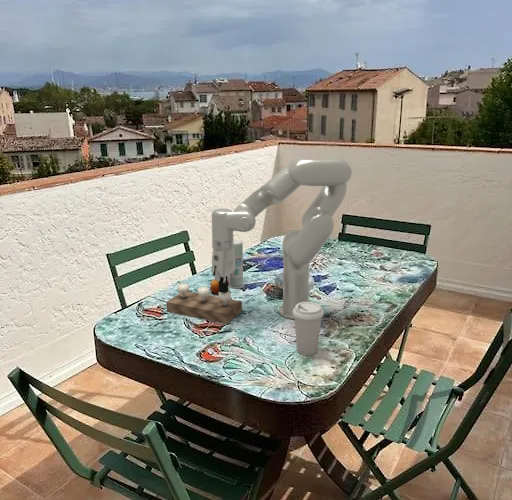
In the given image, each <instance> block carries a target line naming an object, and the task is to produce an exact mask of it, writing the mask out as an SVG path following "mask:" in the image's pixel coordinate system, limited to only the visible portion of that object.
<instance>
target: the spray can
mask: <svg viewBox="0 0 512 500" xmlns="http://www.w3.org/2000/svg"><path fill="white" fill-rule="evenodd" d="M243 242H244V241H242V239H241V240H240V239H233V246H234V251H235V265H236V269H235V271H234V272H232V273H231V274H230V275H229V286H228V288H230V289H233V290H234V289H235V290H236V289H237V290H238V289H241V288H243V287H244V269H243V268H244V267H243V266H244V259H243V258H244V257H243V255H244V253H243V245H244V244H243Z"/></svg>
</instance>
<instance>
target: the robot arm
mask: <svg viewBox="0 0 512 500" xmlns="http://www.w3.org/2000/svg"><path fill="white" fill-rule="evenodd" d="M352 173H353V172H352V167H351V166H350V164H349V163H348V162H347V161H345V160H343V159H342V158H339V157H335V156H329V157H326V158H325V159H324V160H322V159H309V158H308V157H304V156H298V157H295V158H293V159H292V160H290V161H289V162H288V163H287V164H286V165H285V166H283V168H281V169H280V170H279V172H277V173H276V174H275V175H274V176H273V177H272V178H270V180H268V181H267V182H265V184H262V186H260V187H259V188H258V189H256V190H255V191H253V192H252V193H251V194H250V195H248V196H247V197H246V198H245V199H244V200H243V201H242V202H241V203H240V204H238V206H237V207H235V209H234V211H233V210H231V209H229V208H215V209H214V210H213V211H212V212H211V237H212V238H211V242H212V244H211V247H212V256H211V274H212V276H213V277H214V279H215V281H218V282H219V292H222V293H227V292H228V291H229V286H228V281H229V275H230V274H231V273H232V272H234V271H235V269H236V265H235V251H234V246H233V240H234V231H235V232H241V233H247V232H250V231H252V230H253V229H254V228H255V227H256V223H257V222H256V217H258V216H259V214H260V213H262V212H264V210H266V209H268V208H269V207H271V206H273V205H278V204H281V203H282V202H284V201H285V200H286V199H287V198H288V197H289V196H291V195H292V194H293V193H294V192H296V190H297V189H299V188H300V187H301V186H308V187H321V189H320V191H319V192H318V194H317V196H316V197H315V199H314V200H313V201H312V203H311V204H310V205H309V206H308V208H307V209H306V210H305V211H304V212H303V214H302V218H301V224H302V226H303V227H302V228H301V229H293V230H291V231H289V232H287V233H286V234H285V236H284V237H283V240H282V261H283V273H282V276H283V277H282V281H283V282H282V283H283V284H282V292H283V293H282V305H281V306H279V308H278V314H279V315H281V317H283V318H286V319H289V320H290V319H291V320H295V319H294V315H293V309H294V308H295V306H296V305H297V304H298V303H301V302H312V301H311V300H309V299H310V298H309V294H310V293H309V291H310V262H311V261H312V260H313V259H314V258H315V257H316V256H317V255H318V254H319V252H320V250H322V248H323V247H324V246H325V244H326V243H327V242H328V241H329V239H330V237H331V235H332V234H333V231H334V226H335V224H334V219H333V217H334V215H335V213H336V212H337V210H338V209H339V207H340V206H341V204H342V203H343V200H344V198H345V197H346V192H347V183H348V182H349V180H350V179H351V178H352Z"/></svg>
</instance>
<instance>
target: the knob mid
mask: <svg viewBox="0 0 512 500" xmlns="http://www.w3.org/2000/svg"><path fill="white" fill-rule="evenodd" d="M210 291H211V290H210V286H199V287H198V288H197V293H198V296H199V297H202V301H203V302H206V297H207V296H209V295H210V293H211V292H210ZM210 296H211V295H210Z"/></svg>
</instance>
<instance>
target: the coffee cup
mask: <svg viewBox="0 0 512 500" xmlns="http://www.w3.org/2000/svg"><path fill="white" fill-rule="evenodd" d="M293 315H294V319H293V320H294V328H295V330H294V332H295V342H296V343H295V345H296V352H297V351H298V352H299V353H298V352H297V353H298V354H300V353H301V354H300V355H302V354H305V355H304V356H310V355H309V354H313V355H315V354H317V353H318V348H319V342H320V332H321V326H322V325H321V323H322V318H323V317H324V310H323V308H322V307H321V304H319V303H316V302H313V301H311V302H301V303H298V304H297V305H296V306H295V308H294V309H293ZM314 353H315V354H314Z"/></svg>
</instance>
